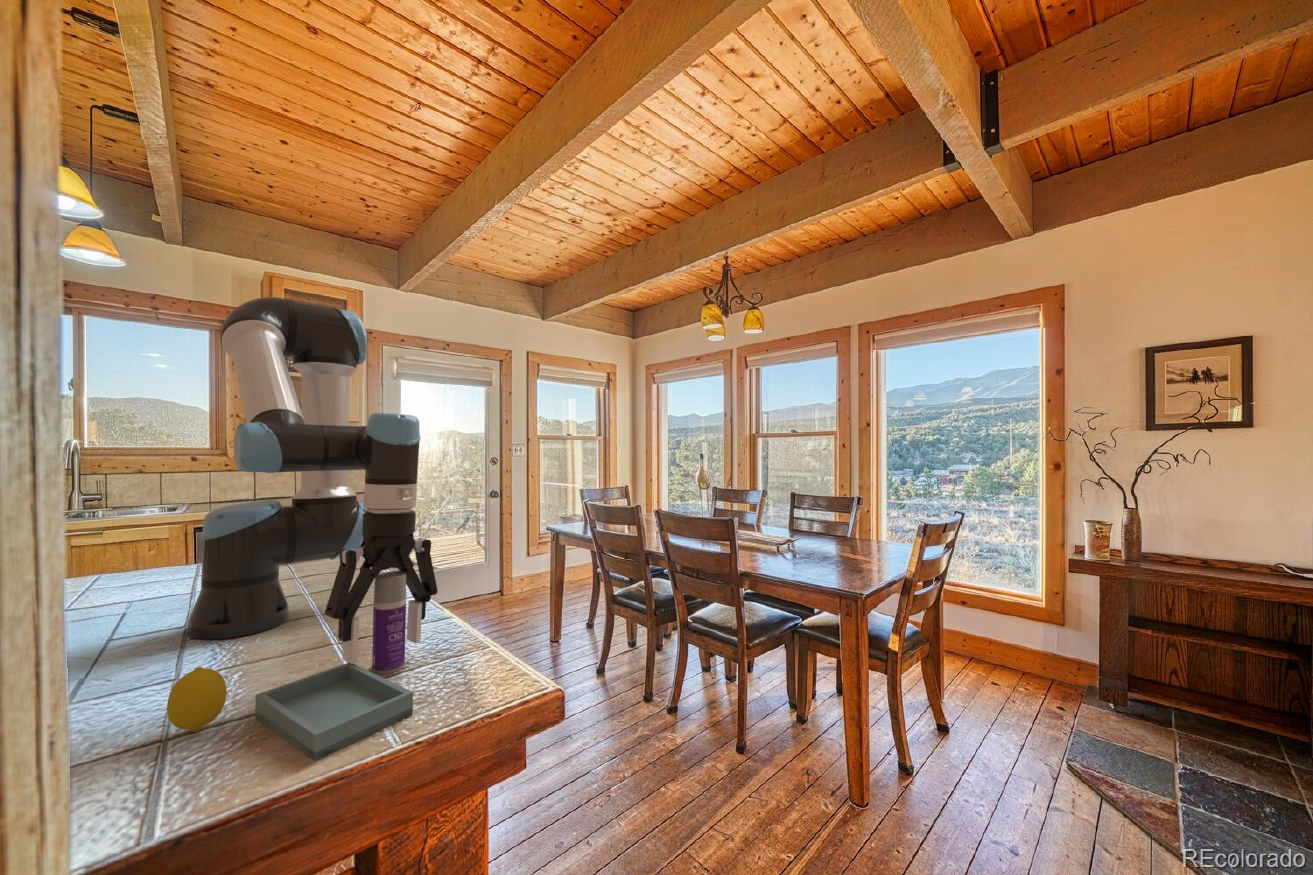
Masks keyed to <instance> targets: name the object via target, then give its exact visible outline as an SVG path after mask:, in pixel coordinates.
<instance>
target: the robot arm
mask: <svg viewBox="0 0 1313 875" xmlns="http://www.w3.org/2000/svg"><path fill="white" fill-rule="evenodd" d="M220 341H221V346H222V347H223V350H224V353H226V355H228V357H230V358H232V363H233V368H234V372H235V376H236V381H237V384H238V385H237V386H238V389H239V393H240V398H241V402H242V403H241V404H242V407H243V408H242V409H243V413H244V418H245V420H246V422H242V423H240V424H238V425H237V427H236V429H235V432H234V439H233V453H234V463H235V466H236V467H237V469H238V470H239V471H241V472H246V473H267V474H276V473H293V472H295V473H296V472H300V489H299V490H298V491H297V492H296V493H295V494H294V495H292V496H291V505H290V506H283V505H282V504H281V501H280V500H277V499H267V500H254V501H253V500H252V501H246V502H241V503H236V504H235V503H234V504H230V505H227V506H222V507H218V508H216V509H213V510H211V511H209V512H208V513H207V514H206V515H205V516H204V519H203V525H202V534H201V536H200V538H201V539H200V540H202V556H201V557H202V558H201V575H200V576H201V583H200V592H199V594H198V596H197V599H196V601H195V603H194V605H193V608H192V610H191V613H190V615H189V618H188V620H187V627H186V628H187V629H186V630H187V633H186V634H187V636H188V637H190V638H193V639H198V640H222V639H230V638H232V639H233V638H238V637H243V636H249V635H253V634H257V633H262V632H264V631H268V630H270V629H273V628H275V627H278V626H280V625H282V624H283V623H285V622H287V620H288V619H289V617H290V616H289V615H290V614H289V613H290V610H289V608H290V607H289V603H288V601H287V598H286V596H285V592H284V591H283V588H282V585H281V583H280V579H279V578H280V566H285V565H292V564H300V563H306V562H307V563H308V562H313V561H321V560H327V559H329V560H335V559H336V558H339V567H338V570H337V573H336V576H335V579H334V582H333V586H332V587H331V588H332V589H331V592H330V594H329V598H328V600H327V604H326V607H325V610H324V615H325V616H327V617H329V618H331V619H333V620H338V628H337V629H338V631H337V632H338V633H337V637H338V640H339V641H340V642H343V645H342V660H343V661H345V662H347V663H351V664H356V663H358V649H359V648H358V646H359V628H360V618H358V617H356V616H355V615H356V614H357V612H358V610H359V608H360V606H361V604H362V602H363V601H364V599H365V597H366V595H367V594H368V591H369V589H370V587H371V585H372V584H373V582H374V581H375V577H377V576H378V575H379V573H381V572H382V571H387V570H389V569H391V568H393V569H397V570H398V571H402V572H405V573H406V587H407V588H408V590H409V592H410V594H411V596H412V598H413V599H411V600H408V604H407V622H406V625H407V626H406V640H407V641H409V642H412V643H414V644H419V643H421V637H422V636H421V634H422V633H421V632H422V620H423V621H424V620H425V618H426V610H427V603H429V602H430V601H431V600H432V599H431V598H432V597H431V596H435V595H437V594H438V591H439V590H438V586H437V585H438V584H437V580H436V577H435V571H434V566H433V560H432V557H431V550H432V541H431V539H428V538H427V539H426V538H423V537H419V538H417V539H415V537H414V533H415V531H416V518H417V517H416V514H417V513H416V512H415V510H413V509H414V508H415V507H416V505H417V491H418V488H417V487H418V474H419V473H418V472H419V471H418V470H419V455H420V441H421V435H420V434H421V433H420V431H421V429H420V420H419V418H418V417H417V416H415V415H411V414H401V413H388V412H387V413H385V412H383V413H382V412H380V413H379V412H377V413H376V412H375V413H372V414H370V415H369V417H368V420H367V425H349V424H350V420H349V419H350V417H349V414H350V413H349V411H350V409H349V408H350V407H349V406H350V404H349V402H350V396H349V395H350V391H349V390H350V386H349V385H350V384H349V383H350V378H351V376H352V375H354V374H355V373H356V372H357V371H358V370H357V369H358V368H357V367H358V366H359V365H362V364H364V362H365V360H366V358H367V351H368V337H367V331H366V328H365V325H364V323H363V321H362V319H361V317H360V316H359V315H358V314H357V313H356V312H353V311H350V310H346V309H342V308H338V307H337V306H329V305H328V306H327V305H321V304H315V303H310V302H309V303H308V302H303V301H296V300H290V299H285V298H283V297H275V296H272V297H270V296H269V297H266V296H265V297H260V298H255V299H251V300H249V301H246V302H244V303H241V304H240V305H238V306H237V307H235V308H234V309H233V310H232V311H231V312H229V313H228V314H227V316H226V317H225V319H224V321H223V323H222V325H221V328H220ZM285 357H288V358H292V368H293V369H295V370H296V371H297V372H298V373H299V374H300V375H301V404H300V402H299V400H298V396H297V393H296V390H295V387H294V384H293V380H292V378H291V375H290V371H289V369H288V365H287V362H286V359H285ZM300 405H301V406H300ZM363 470H365V471H364V472H365V474H364V476H365V477H364V490H363V502H362V501H360V500H357V498H358V497H357V493H356V492H355V491H354V490H353V489H352V488H350V486H349V485H350V484H349V481H350V480H349V478H350V477H349V476H350V475H349V473H350V471H363ZM412 552H415V559H416V563H417V569H418V573H419V576H418V574H417V571H416V570H415V568H414V567H415V566H414V563H413V561H412V559H411V557H410V555H411V553H412ZM361 556H362V557H363V558H364V561H363V562H362V564H361V566H360V568H359V573H358V575H357V577H356V578H355V581H354V583H353V584H352V582H353V580H354V579H353V578H354V576H355V573H356V570H357V563H359V562H360V560H361V559H360V558H361ZM351 585H352V586H351Z"/></svg>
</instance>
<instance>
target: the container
mask: <svg viewBox="0 0 1313 875" xmlns="http://www.w3.org/2000/svg"><path fill="white" fill-rule="evenodd" d="M373 592H374V594H373V609H372V610H373V611H372V612H373V614H372V617H373V619H372V650H371V652H372V656H371V671H372V673H374V674H376V675H389V674H392V673H396V672H398V671H401V670H402V669H404V667H405V663H406V662H405V660H406V631H407V626H406V625H407V622H406V621H407V619H406V618H407V617H406V616H407V584H406V573H405V572H402V571H399V570H390V571H383V572H380V573H379V575H378V576H377V577H375V578H374V590H373Z"/></svg>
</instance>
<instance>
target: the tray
mask: <svg viewBox="0 0 1313 875" xmlns="http://www.w3.org/2000/svg"><path fill="white" fill-rule="evenodd" d="M254 701H255V702H254V703H255V704H254V705H255V706H254V708H255V709H254V718H255V719H256V720H257V721H259V722H260V723H261V724H263V725H264V726H266V727H267V728H268V729H270V730H271V731H272V732H274V733H275V734H277V735H278V736H279V737H280V738H282V739H284V740H285V741H287V743H289V744H290V745H292V746H293V747H294V748H296V749H297V750H298V751H300V752H301V753H303V754H304V755H305V756H306V757H308V758H309V759H311V760H312V761H314V762H316V761H318V760H321V759H323V758H324V757H326V756H328V755H329V756H330V755H331V754H333V753H335V752H337V751H339V750H342V749H344V748H346V747H347V746H350V745H353V744H354V743H357V742H358V741H360V740H362V739H364V738H367V737H369V736H371V735H374V734H375V733H377V732H379V731H381V730H384V729H386V728H388V727H390V726H391V725H392V726H393V725H394V724H396V723H398V722H400V721H402V720H405V719H407V718H409V717H410V716H412V715H413V713H414V712H413V711H414V710H413V708H414V703H413V702H414V692H413V691H411V690H409V689H407V688H405V687H403V686H400V684H399V685H398V684H397V683H395V682H393V681H390V680H388V679H385V677H382V676H381V675H379V674H376V673H374V672H373V671H372V672H371V671H370V670H367V669H365V668H364V667H361V666H359V665H357V664H356V663H353V664H351V663H349V662H347V663H344V664H340V665H338V666H334V667H333V668H329V669H327V670H324V671H321V672H318V673H315V674H313V675H310V676H307V677H306V676H305V677H303V678H300V679H298V680H295V681H292V682H289V683H287V684H283V685H281V686H277V687H275V688H272V689H270V690H266V691H263V692H260V693H257V694H255V700H254Z"/></svg>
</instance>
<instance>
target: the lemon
mask: <svg viewBox="0 0 1313 875" xmlns="http://www.w3.org/2000/svg"><path fill="white" fill-rule="evenodd" d="M227 693H228V692H227V685H226V681H225V679H224V677H223V675H222V674H221V673H220V672H219V671H217V670H215V669H211V668H205V667H203V666H199V667H195V668H194V669H193V670H191V671H190V672H188V673H186V674H184V675H182V677H180V678H179V679H178V680H177V681H176V682H175V684H174V685H173V686H172V688H171V690H170V692H169V695H168V697H167V698H168V699H167V704H166V705H167V708H166V710H167V717H168V720H169V722H170V723H171V724H172V725H173V726H174V727H175V728H177V729H180V730H185V731H191V732H193V733H198V732H200V731H201V730H202V729H203V728H204V727H205V726H208V725H209V724H210V723H212V722H214V720H215V719H216V718H218V716H219V715H220V714H221V712H222V711H223V709H224V707H225V704H226V700H227V695H228V694H227Z"/></svg>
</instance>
